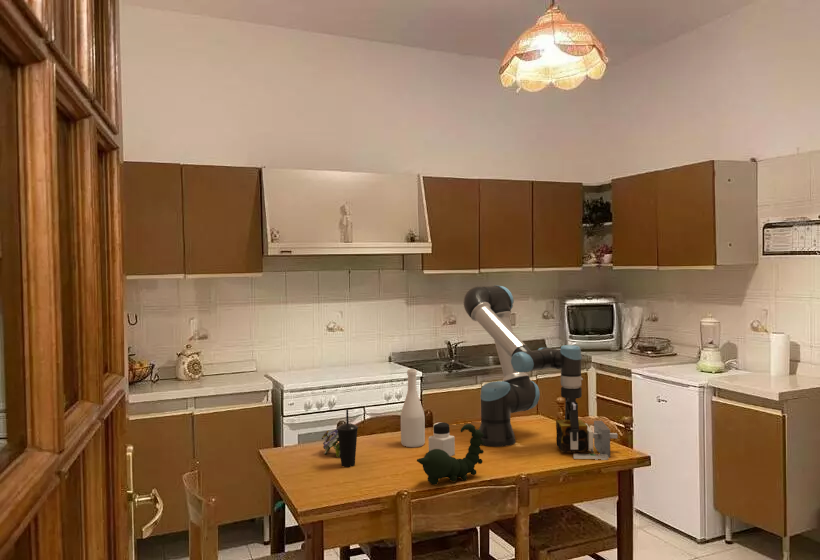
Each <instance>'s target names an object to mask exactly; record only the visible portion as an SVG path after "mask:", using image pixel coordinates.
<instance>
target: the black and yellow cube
mask: <svg viewBox="0 0 820 560" xmlns="http://www.w3.org/2000/svg"><path fill="white" fill-rule="evenodd" d="M578 422H579V432H578V450H571V449H570V432H569V430H571V426H570V420H565V419H555V431H556V436H555V437H556V438H555V440H556V441H555V445H556V446H557V448H558V450H559V451H560V452H562V453H589V450H588V439H587V428H588V427H587V425H588V424H587V425H586V424H585V422H584V421H583V420H582V419H578Z"/></svg>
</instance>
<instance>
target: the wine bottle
mask: <svg viewBox="0 0 820 560" xmlns="http://www.w3.org/2000/svg"><path fill="white" fill-rule="evenodd" d="M406 372H407V373H406V374H407V391H406V396H405V399H404V402H403V406H402V409H401V413H400V444H401V445H402V446H404V447H405V446H406V448H418V447H419V448H420V447H422V446H424V445H425V443H426V429H425V428H426V426H425V424H426V422H425V419H426V417H425V411H424V408H423V406H422V403H421V400H420V397H419V394H418V390H417V376H416V375H418V373H417V369H415V368H408V369H407V371H406Z"/></svg>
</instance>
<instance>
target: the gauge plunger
mask: <svg viewBox="0 0 820 560" xmlns="http://www.w3.org/2000/svg"><path fill="white" fill-rule="evenodd" d="M584 423H585V422H584ZM585 424H586V425H587V427H588V428H587V439H588V452H591V454H595V451H594V438H598V433H594V430H592V429H591V428H590V427H591V426H589V425H588V423H585ZM618 436H619V434H618V433H617V432H610V439H619V437H618Z"/></svg>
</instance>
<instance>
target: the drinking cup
mask: <svg viewBox="0 0 820 560" xmlns="http://www.w3.org/2000/svg"><path fill="white" fill-rule="evenodd" d="M345 410H346V412H345V415H346V416H345V418H346V419H345V421H346V423H342V424H340V425H338V426H336V429H337V430H338V438H339V441H338V443H339V447H340V464H341V467H343V466H344V468H350V466H352V467H354V466H355V465H356V454H357V441H358V430H359V426H358V425H356V424H354V423H350V422H349V408H347V409H345Z"/></svg>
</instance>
